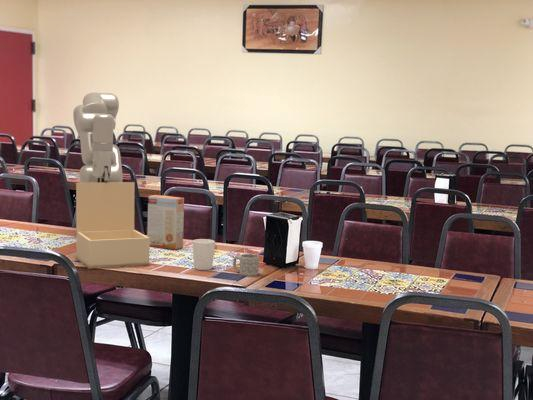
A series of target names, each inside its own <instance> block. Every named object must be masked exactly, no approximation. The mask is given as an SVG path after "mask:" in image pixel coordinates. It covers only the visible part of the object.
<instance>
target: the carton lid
mask: <svg viewBox="0 0 533 400" xmlns="http://www.w3.org/2000/svg"><path fill="white" fill-rule="evenodd" d="M135 184H136V183H135V181H122V182H99V183H80V182H76V183H75V189H76V191H75V193H76V195H75V206H76V208H75V211H76V214H75V225H76V226H75V228H76V229H75V232H76V233H77V232H81V231H111V230H135V195H136V194H135V186H136V185H135Z"/></svg>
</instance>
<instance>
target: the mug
mask: <svg viewBox="0 0 533 400" xmlns="http://www.w3.org/2000/svg"><path fill="white" fill-rule="evenodd" d="M232 260H233V261H232V266H233V269H234V270H236V271H237V272H239V276H242V277H258V276H259V268H260V267H259V264H260V263H259V262H260V255H258V254H252V253H244V254H240V255H238V256H237V255H236V256H234V257H233V259H232ZM237 260H239V267H238V266H237Z"/></svg>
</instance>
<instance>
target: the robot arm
mask: <svg viewBox="0 0 533 400" xmlns="http://www.w3.org/2000/svg"><path fill="white" fill-rule="evenodd" d="M119 102H120V101H119V98H118V96H116V94H115V93H111V92H110V93H109V92H89V93H87V94H85V96H83V99H82V104H79V105H78V104H77V105H76V106H75V107H74V109H73V111H72V112H73V114H72V115H73V123H74V127H75V130H76V132H77V134H78V136H79V139H80V140H79V141H80V153H81V160H82V163H83V164H84V165H82V167H81V168H80V169H79V183H99V182H124V181H123V178H124V177H123V168H122V166H123V165H122V158H121V157H122V156H121V151H120V149H119V146H118V145H116V144H114V130H115V129H116V124H117V123H116V119H117V116H118V112H119V107H120V103H119ZM80 232H85V231H80Z"/></svg>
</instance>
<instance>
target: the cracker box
mask: <svg viewBox="0 0 533 400" xmlns="http://www.w3.org/2000/svg"><path fill="white" fill-rule="evenodd" d="M147 198H148V200H147V235H146V236H147V237H149V238H150V247H153V248H161V249H166V250H171V251H172V250H173V251H175V250H180V249H183V246H184V222H185V221H184V218H185V217H184V213H185V198H184V197H180V196H172V195H171V196H170V195H163V194H162V195H160V194H153V195H148V197H147Z"/></svg>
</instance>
